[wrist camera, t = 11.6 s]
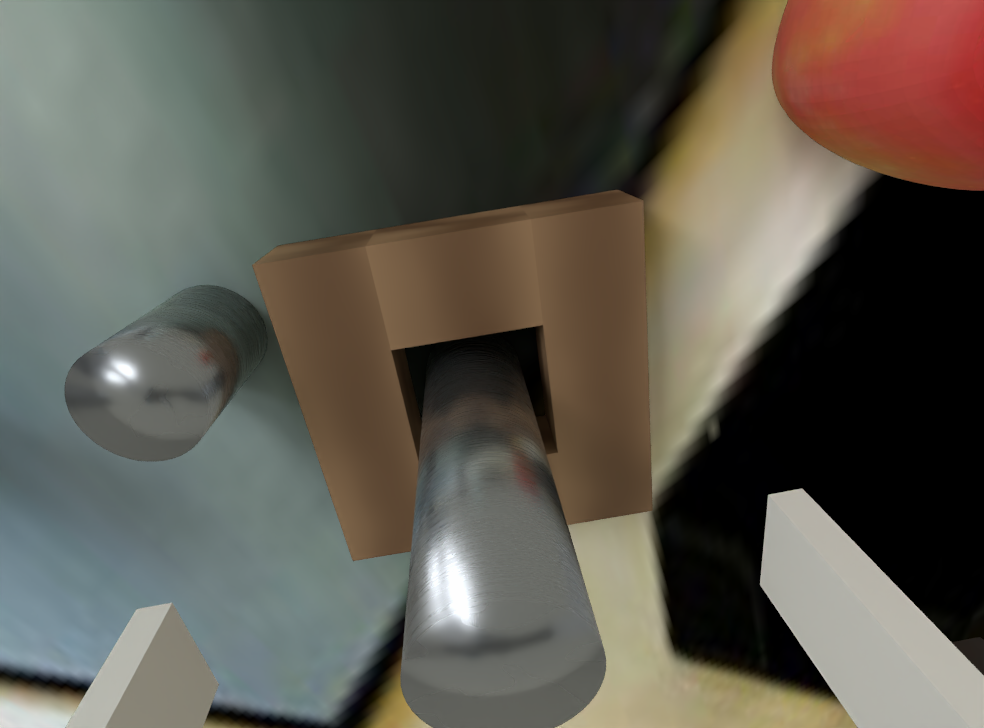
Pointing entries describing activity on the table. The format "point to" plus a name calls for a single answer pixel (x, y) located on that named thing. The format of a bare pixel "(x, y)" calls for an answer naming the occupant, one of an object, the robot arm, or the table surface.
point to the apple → (888, 84)
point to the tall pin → (492, 558)
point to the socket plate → (461, 314)
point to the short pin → (167, 374)
